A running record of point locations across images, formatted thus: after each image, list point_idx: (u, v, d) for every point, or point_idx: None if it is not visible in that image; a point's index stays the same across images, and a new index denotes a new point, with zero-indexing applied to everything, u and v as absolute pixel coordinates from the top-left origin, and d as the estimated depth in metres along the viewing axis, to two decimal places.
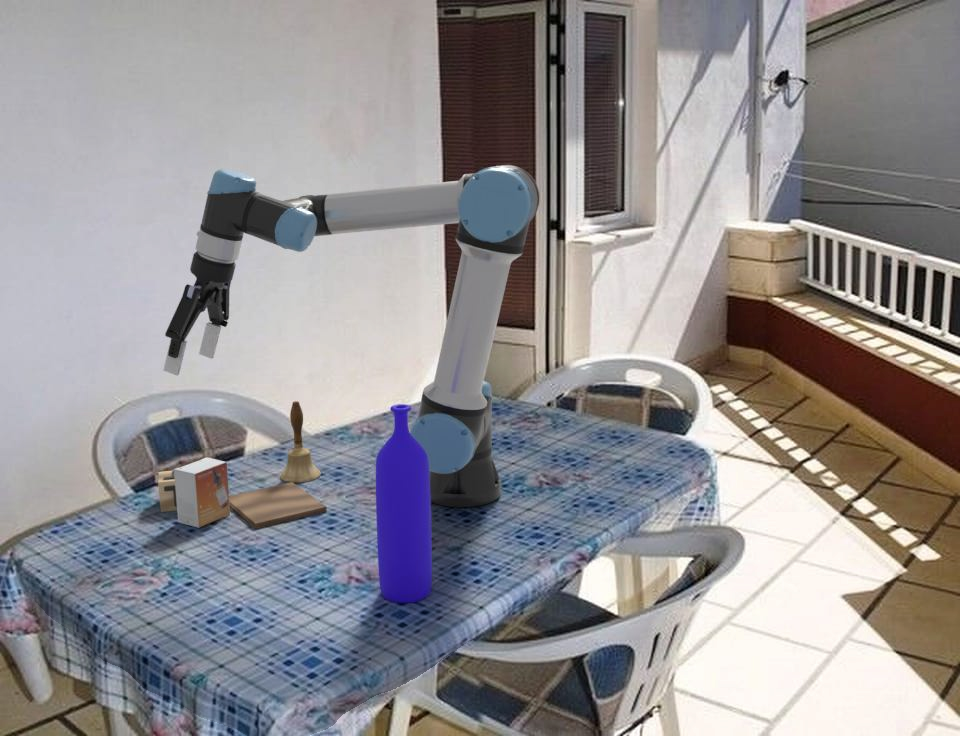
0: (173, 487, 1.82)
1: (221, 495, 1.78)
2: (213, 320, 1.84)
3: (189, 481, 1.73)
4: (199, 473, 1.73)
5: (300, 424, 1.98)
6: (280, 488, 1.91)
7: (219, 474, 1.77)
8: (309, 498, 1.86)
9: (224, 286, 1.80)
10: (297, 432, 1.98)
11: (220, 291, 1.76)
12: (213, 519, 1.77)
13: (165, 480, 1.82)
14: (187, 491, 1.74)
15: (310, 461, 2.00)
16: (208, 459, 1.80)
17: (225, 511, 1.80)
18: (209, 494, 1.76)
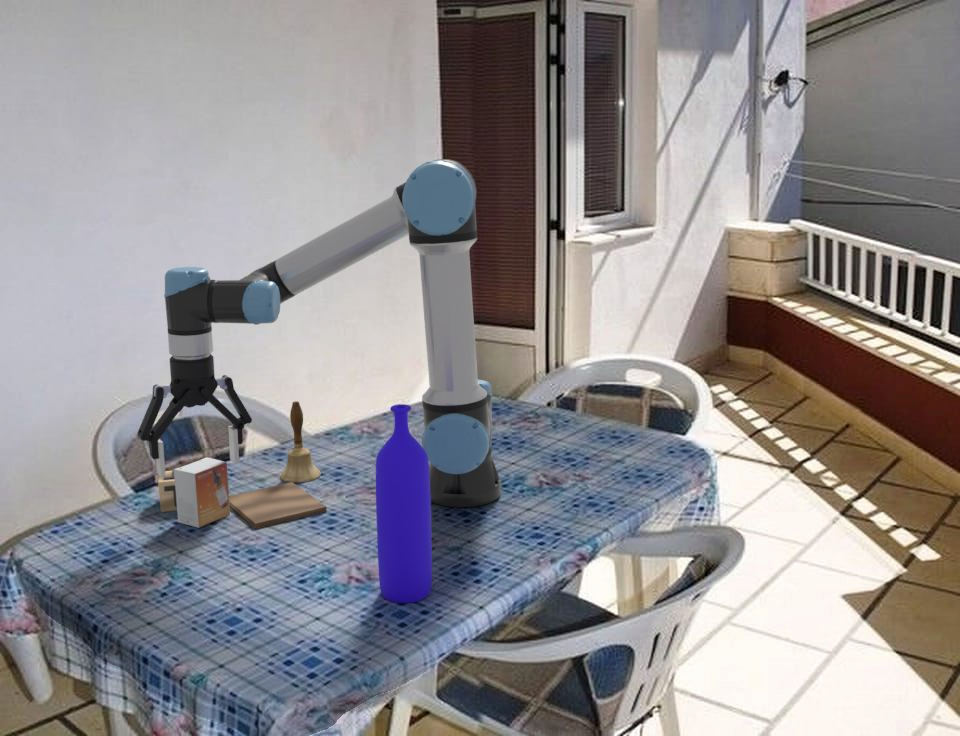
0: (173, 487, 1.82)
1: (221, 495, 1.78)
2: (233, 423, 1.79)
3: (190, 482, 1.73)
4: (199, 473, 1.73)
5: (300, 424, 1.98)
6: (280, 488, 1.91)
7: (219, 474, 1.77)
8: (309, 498, 1.86)
9: (224, 386, 1.76)
10: (297, 432, 1.98)
11: (204, 390, 1.72)
12: (213, 519, 1.77)
13: (165, 480, 1.82)
14: (187, 491, 1.74)
15: (310, 461, 2.00)
16: (208, 459, 1.80)
17: (225, 511, 1.80)
18: (209, 494, 1.76)
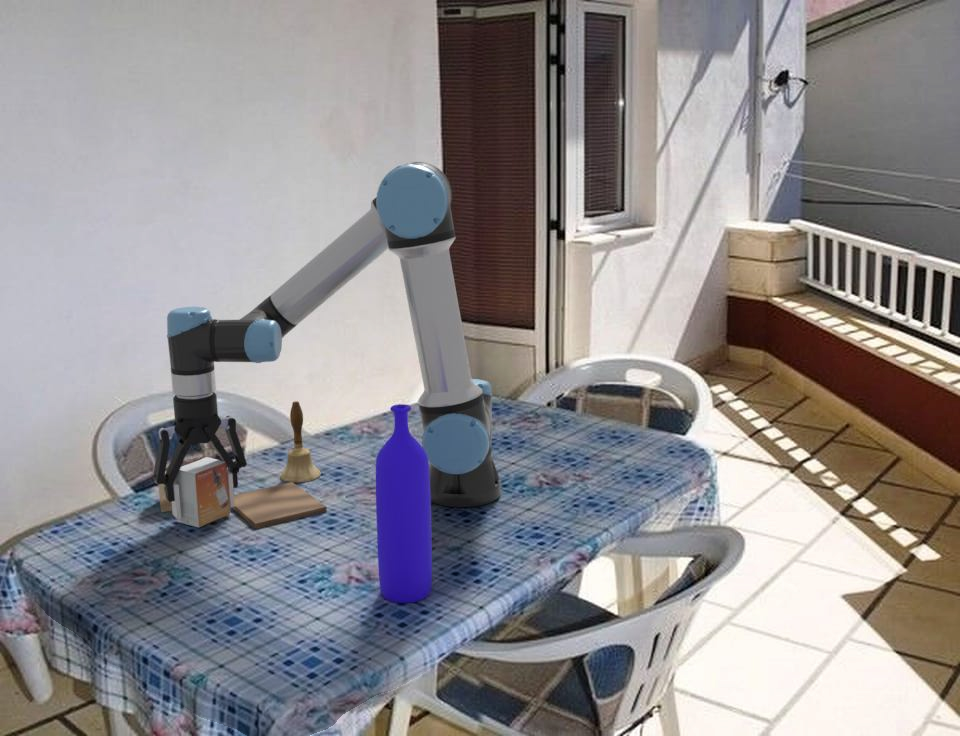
0: None
1: (221, 494, 1.78)
2: (228, 467, 1.80)
3: (190, 481, 1.73)
4: (199, 473, 1.73)
5: (300, 424, 1.98)
6: (280, 488, 1.91)
7: (219, 473, 1.77)
8: (309, 498, 1.86)
9: (226, 426, 1.77)
10: (297, 432, 1.98)
11: (208, 428, 1.74)
12: (213, 519, 1.77)
13: None
14: (187, 491, 1.74)
15: (310, 461, 2.00)
16: (208, 459, 1.80)
17: (225, 511, 1.80)
18: (209, 494, 1.76)
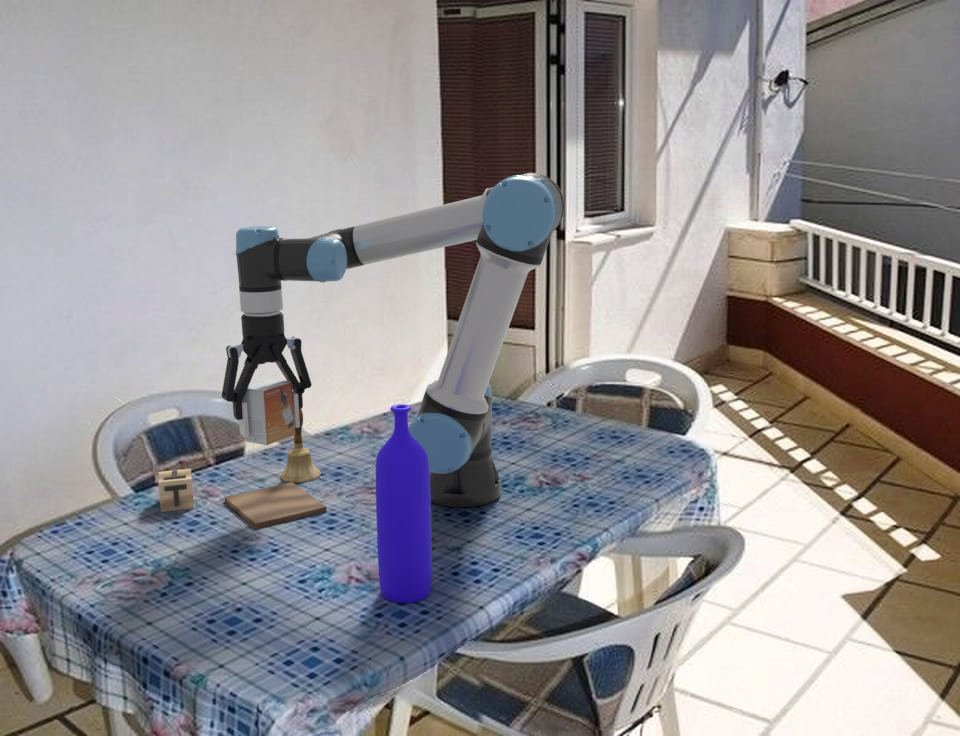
0: (173, 487, 1.82)
1: (287, 414, 1.80)
2: (293, 388, 1.82)
3: (258, 399, 1.75)
4: (267, 390, 1.75)
5: (300, 424, 1.98)
6: (280, 488, 1.91)
7: (285, 393, 1.79)
8: (309, 498, 1.86)
9: (292, 346, 1.79)
10: (297, 432, 1.98)
11: (275, 347, 1.76)
12: (280, 438, 1.79)
13: (165, 480, 1.82)
14: (255, 409, 1.76)
15: (310, 461, 2.00)
16: (273, 380, 1.82)
17: (290, 431, 1.82)
18: (276, 412, 1.78)
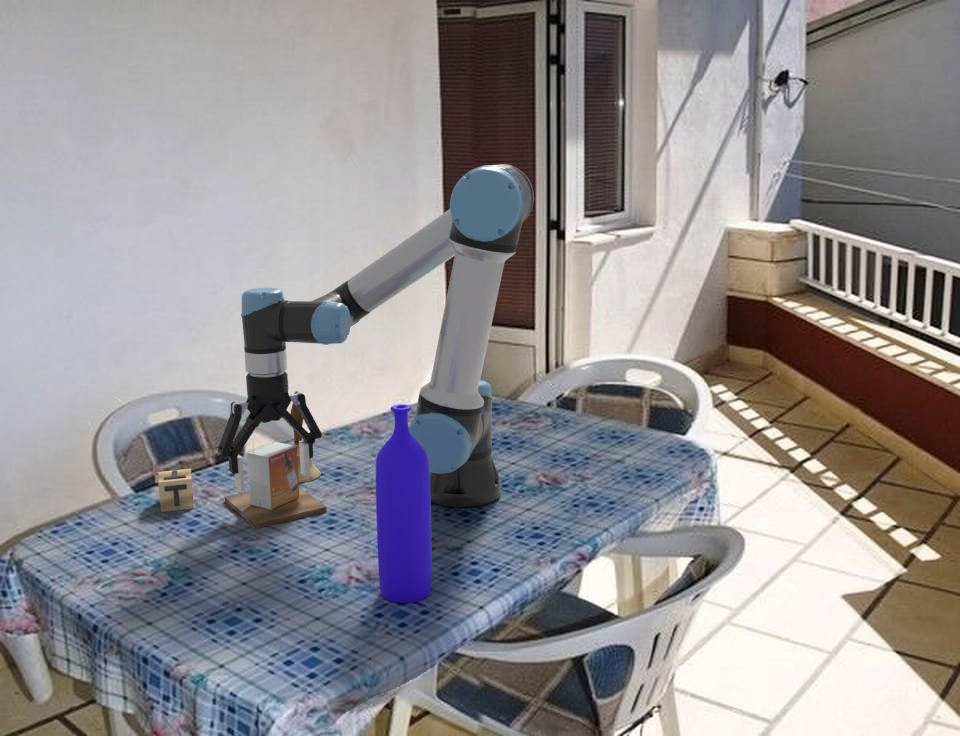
0: (173, 487, 1.82)
1: (291, 478, 1.84)
2: (304, 438, 1.86)
3: (263, 465, 1.79)
4: (272, 456, 1.78)
5: (300, 424, 1.98)
6: None
7: (290, 458, 1.82)
8: (309, 498, 1.86)
9: (297, 402, 1.82)
10: None
11: (279, 406, 1.79)
12: (284, 502, 1.83)
13: (165, 480, 1.82)
14: (260, 474, 1.79)
15: (310, 461, 2.00)
16: (278, 443, 1.85)
17: (295, 494, 1.85)
18: (281, 477, 1.81)
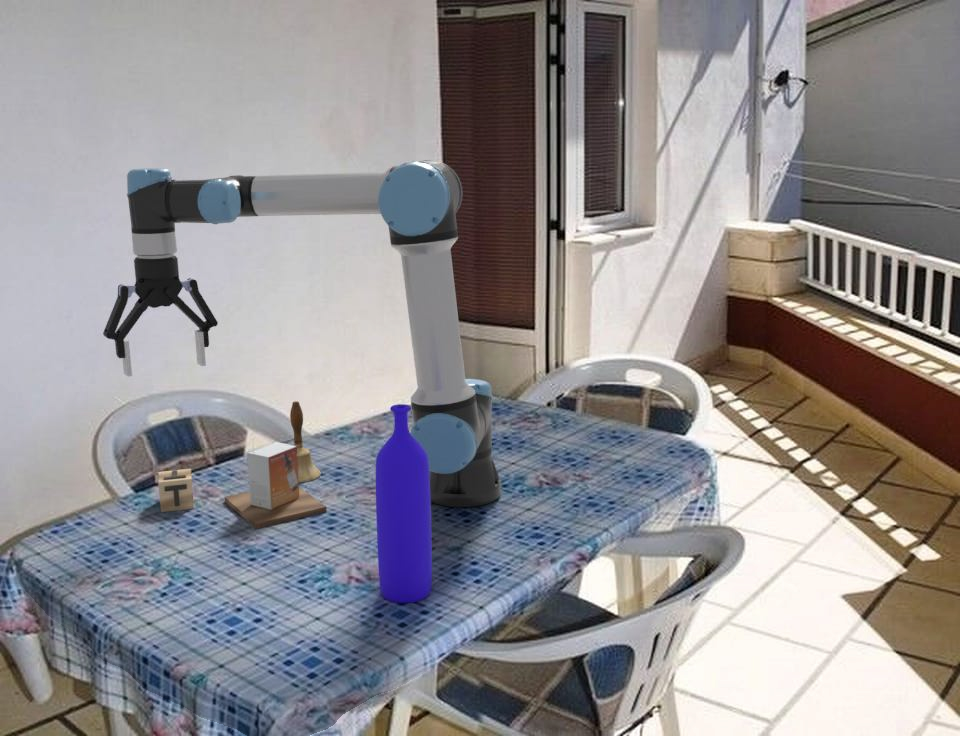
0: (173, 487, 1.82)
1: (291, 478, 1.84)
2: (199, 326, 1.82)
3: (263, 465, 1.79)
4: (272, 456, 1.78)
5: (300, 424, 1.98)
6: None
7: (290, 458, 1.82)
8: (309, 498, 1.86)
9: (188, 288, 1.78)
10: (297, 432, 1.98)
11: (168, 290, 1.75)
12: (284, 502, 1.83)
13: (165, 480, 1.82)
14: (260, 474, 1.79)
15: (310, 461, 2.00)
16: (278, 443, 1.85)
17: (295, 494, 1.85)
18: (281, 477, 1.81)
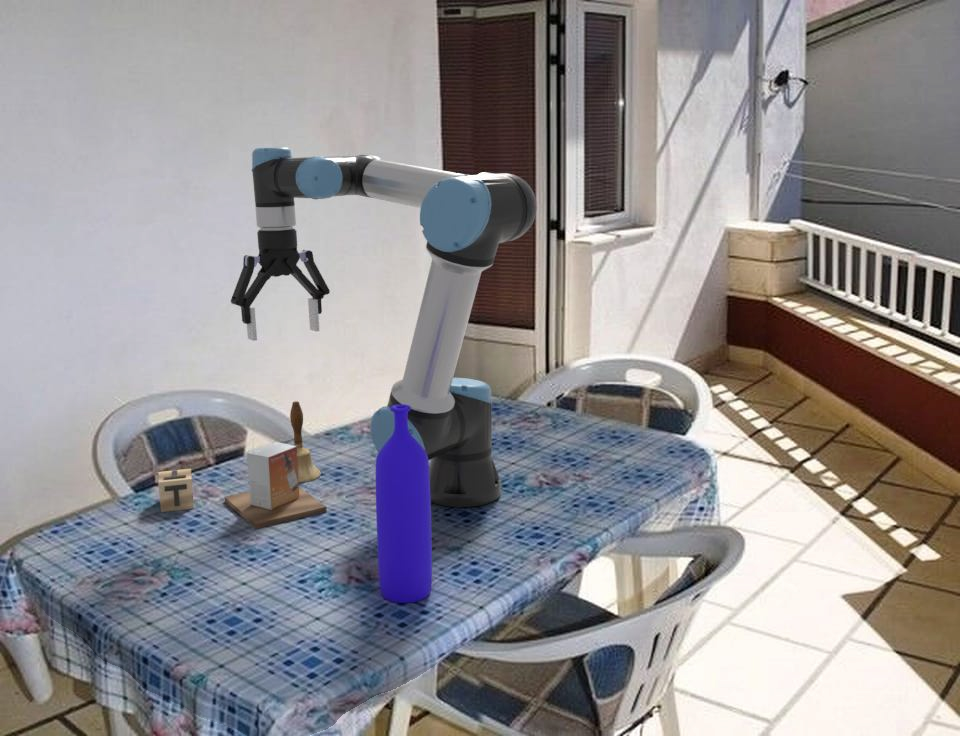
0: (173, 487, 1.82)
1: (291, 478, 1.84)
2: (313, 295, 1.97)
3: (263, 465, 1.79)
4: (272, 456, 1.78)
5: (300, 424, 1.98)
6: None
7: (290, 458, 1.82)
8: (309, 498, 1.86)
9: (305, 258, 1.93)
10: (297, 432, 1.98)
11: (289, 260, 1.90)
12: (284, 502, 1.83)
13: (165, 480, 1.82)
14: (260, 474, 1.79)
15: (310, 461, 2.00)
16: (278, 443, 1.85)
17: (295, 494, 1.85)
18: (281, 477, 1.81)
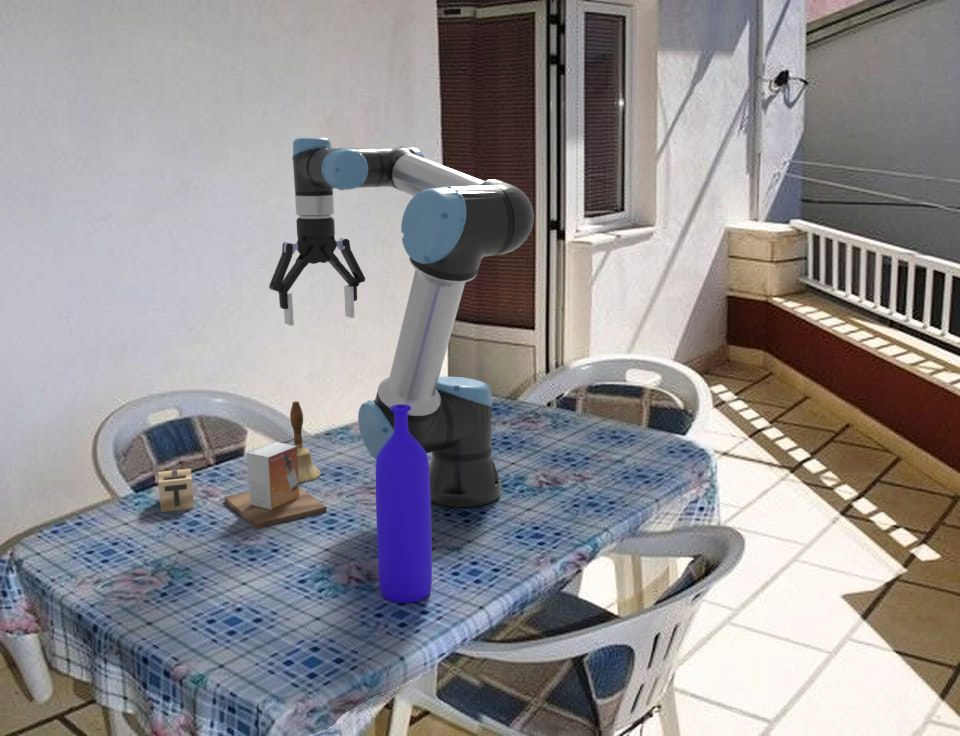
0: (173, 487, 1.82)
1: (291, 478, 1.84)
2: (349, 282, 2.01)
3: (263, 465, 1.79)
4: (272, 456, 1.78)
5: (300, 424, 1.98)
6: None
7: (290, 458, 1.82)
8: (309, 498, 1.86)
9: (342, 246, 1.98)
10: (297, 432, 1.98)
11: (326, 248, 1.94)
12: (284, 502, 1.83)
13: (165, 480, 1.82)
14: (260, 474, 1.79)
15: (310, 461, 2.00)
16: (278, 443, 1.85)
17: (295, 494, 1.85)
18: (281, 477, 1.81)
